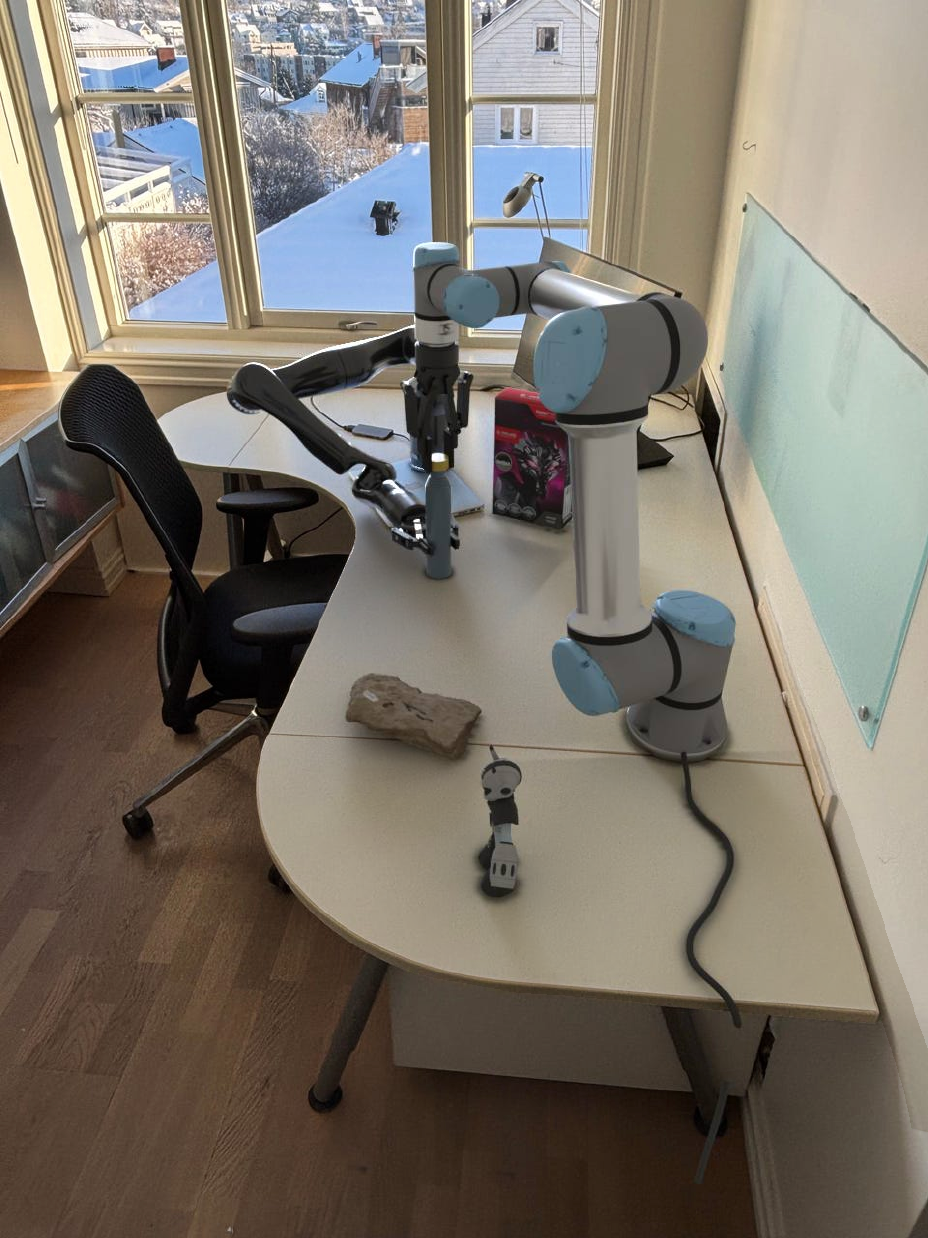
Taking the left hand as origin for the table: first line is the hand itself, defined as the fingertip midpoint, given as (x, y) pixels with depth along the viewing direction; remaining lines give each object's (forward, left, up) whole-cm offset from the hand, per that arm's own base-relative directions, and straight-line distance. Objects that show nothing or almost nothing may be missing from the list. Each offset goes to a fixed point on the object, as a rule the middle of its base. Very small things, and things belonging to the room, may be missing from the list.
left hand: (445, 548), depth 177 cm
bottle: (-2, -1, -7) cm, 7 cm away
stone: (+44, -8, -7) cm, 46 cm away
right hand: (-2, -1, +16) cm, 16 cm away
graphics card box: (-24, +20, -7) cm, 32 cm away
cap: (-2, -1, +18) cm, 18 cm away
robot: (+74, +3, -7) cm, 74 cm away
